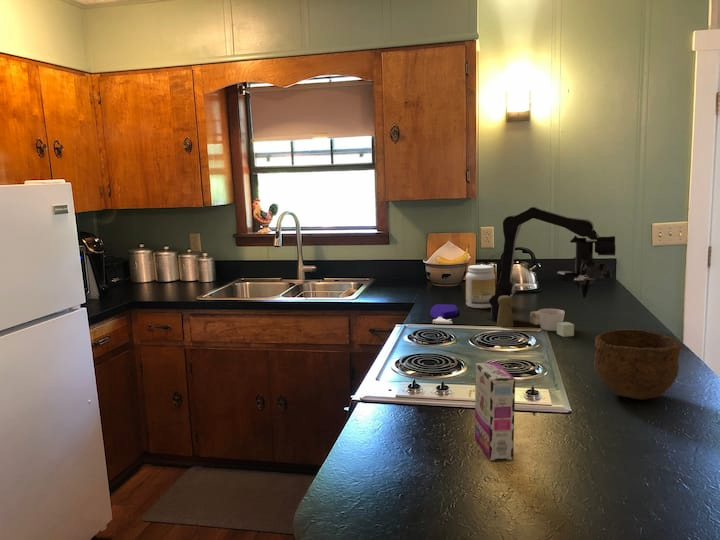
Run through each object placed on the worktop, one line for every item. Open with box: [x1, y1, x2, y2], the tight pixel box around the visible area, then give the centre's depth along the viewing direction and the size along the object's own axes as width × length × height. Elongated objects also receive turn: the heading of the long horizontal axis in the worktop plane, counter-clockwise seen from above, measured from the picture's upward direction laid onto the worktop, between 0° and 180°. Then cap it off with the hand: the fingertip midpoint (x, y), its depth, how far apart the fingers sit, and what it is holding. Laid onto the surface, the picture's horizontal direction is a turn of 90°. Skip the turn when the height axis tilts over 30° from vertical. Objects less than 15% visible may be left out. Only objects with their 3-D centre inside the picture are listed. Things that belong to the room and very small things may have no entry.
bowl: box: [593, 328, 682, 401], centre depth 144 cm, size 19×19×15 cm
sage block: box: [556, 321, 575, 337], centre depth 203 cm, size 4×4×4 cm
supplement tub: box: [465, 264, 496, 309], centre depth 251 cm, size 12×12×17 cm
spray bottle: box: [429, 303, 459, 325], centre depth 233 cm, size 3×11×24 cm
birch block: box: [529, 310, 540, 325], centre depth 220 cm, size 4×4×4 cm
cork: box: [496, 295, 514, 328], centre depth 217 cm, size 6×6×11 cm
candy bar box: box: [474, 361, 516, 462], centre depth 118 cm, size 11×5×16 cm, turn 5°
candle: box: [537, 308, 566, 332], centre depth 211 cm, size 9×9×6 cm
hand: (583, 298), depth 213 cm, fingers closed
